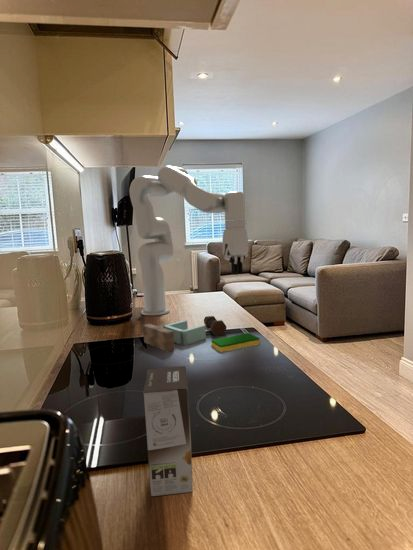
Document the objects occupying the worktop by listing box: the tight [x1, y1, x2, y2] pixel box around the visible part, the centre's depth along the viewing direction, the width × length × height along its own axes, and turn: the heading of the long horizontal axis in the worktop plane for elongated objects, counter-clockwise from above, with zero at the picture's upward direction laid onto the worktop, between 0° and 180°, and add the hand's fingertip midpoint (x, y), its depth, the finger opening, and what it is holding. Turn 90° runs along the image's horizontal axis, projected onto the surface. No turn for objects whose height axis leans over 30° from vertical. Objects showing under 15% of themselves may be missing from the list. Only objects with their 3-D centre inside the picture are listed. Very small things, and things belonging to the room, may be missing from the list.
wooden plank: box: [142, 323, 175, 353], centre depth 122 cm, size 14×2×6 cm, turn 41°
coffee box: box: [142, 365, 193, 497], centre depth 58 cm, size 9×6×16 cm
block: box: [162, 319, 207, 346], centre depth 129 cm, size 12×10×4 cm
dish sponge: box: [211, 332, 260, 353], centre depth 120 cm, size 7×14×2 cm, turn 114°
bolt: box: [203, 315, 228, 337], centre depth 138 cm, size 6×5×15 cm
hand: (237, 273), depth 144 cm, fingers closed
